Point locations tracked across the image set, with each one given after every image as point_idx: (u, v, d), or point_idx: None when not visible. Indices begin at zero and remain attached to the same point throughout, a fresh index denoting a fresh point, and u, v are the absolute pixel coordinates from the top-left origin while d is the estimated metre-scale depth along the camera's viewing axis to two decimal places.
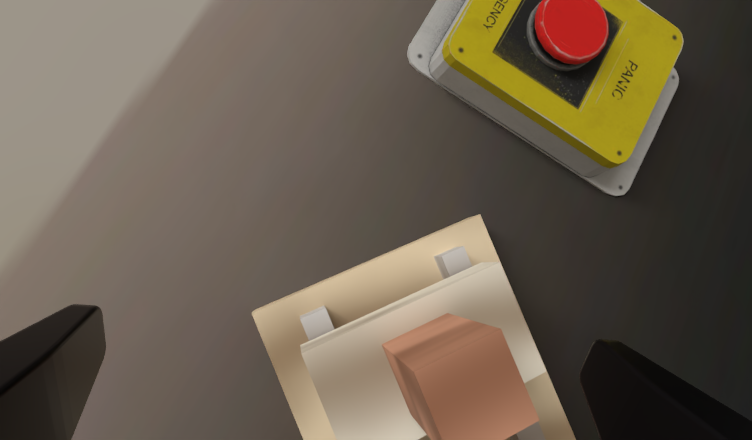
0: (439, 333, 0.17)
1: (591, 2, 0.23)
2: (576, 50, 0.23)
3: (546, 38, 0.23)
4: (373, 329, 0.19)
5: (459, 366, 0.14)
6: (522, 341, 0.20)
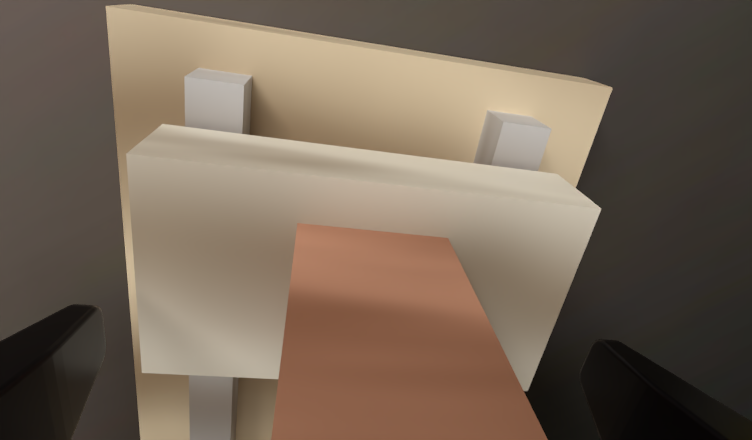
0: (407, 304, 0.07)
1: None
2: None
3: None
4: (296, 190, 0.09)
5: None
6: (529, 339, 0.11)
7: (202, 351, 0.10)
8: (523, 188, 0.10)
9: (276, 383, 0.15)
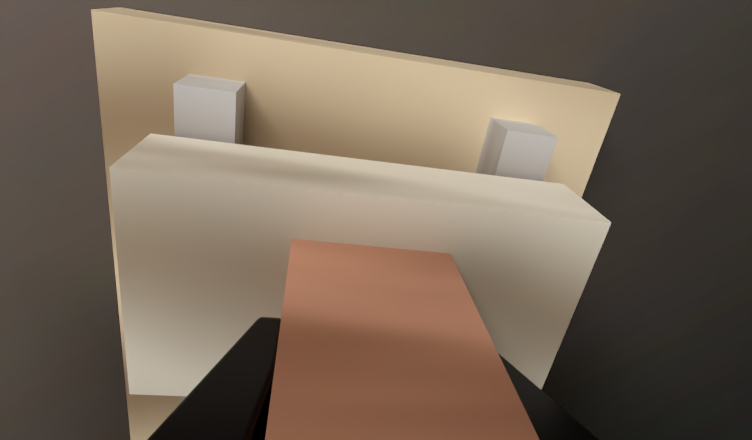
0: (408, 329, 0.07)
1: None
2: None
3: None
4: (290, 205, 0.08)
5: None
6: (534, 357, 0.10)
7: (192, 372, 0.10)
8: (529, 200, 0.09)
9: None
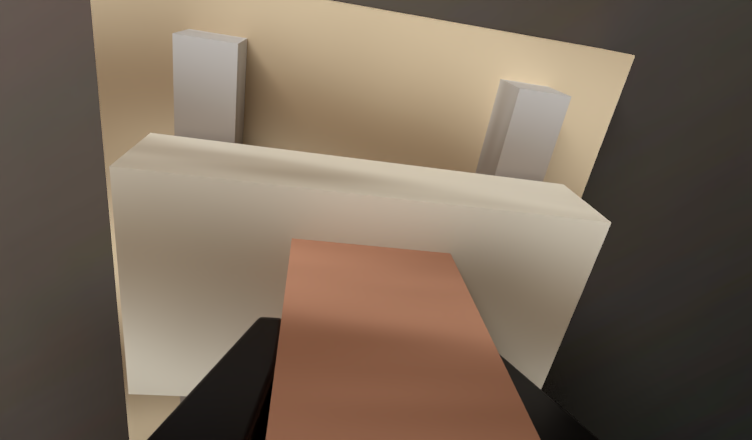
0: (409, 329, 0.07)
1: None
2: None
3: None
4: (291, 204, 0.08)
5: None
6: (534, 357, 0.10)
7: (191, 372, 0.10)
8: (529, 200, 0.09)
9: None
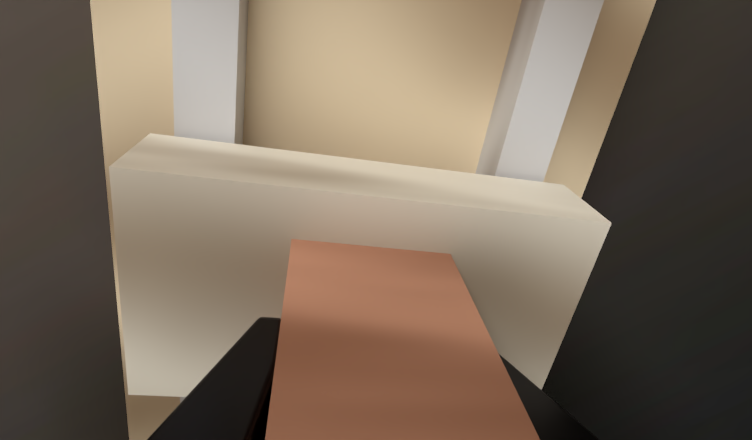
0: (408, 329, 0.07)
1: None
2: None
3: None
4: (290, 204, 0.08)
5: None
6: (534, 358, 0.10)
7: (191, 372, 0.10)
8: (529, 201, 0.09)
9: None
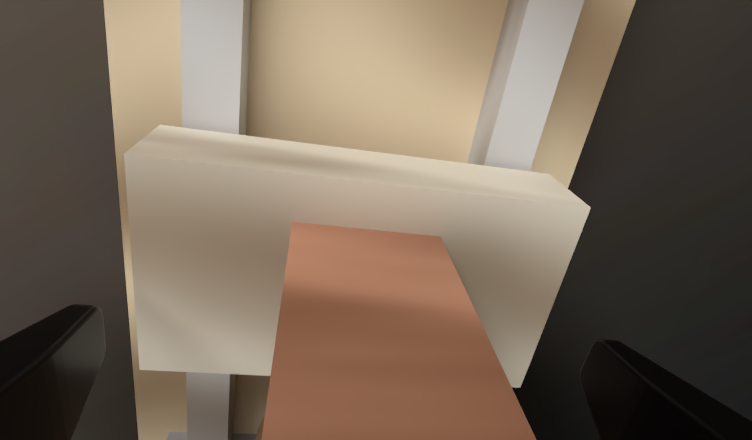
0: (399, 300, 0.07)
1: None
2: None
3: None
4: (291, 189, 0.09)
5: None
6: (521, 337, 0.11)
7: (198, 349, 0.10)
8: (514, 188, 0.10)
9: None
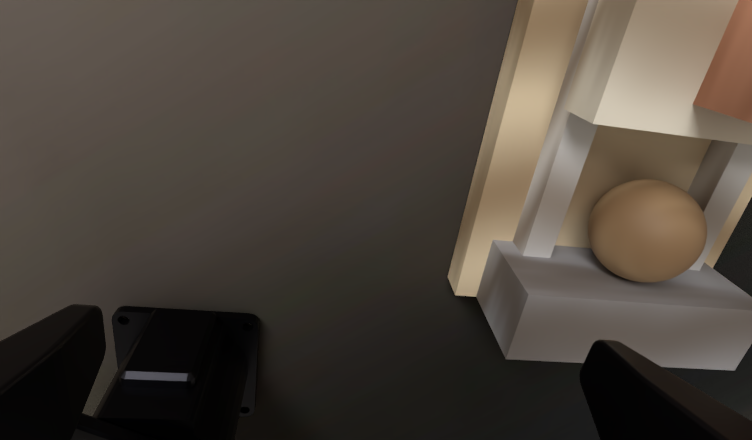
0: None
1: None
2: None
3: None
4: None
5: None
6: None
7: (637, 107, 0.14)
8: None
9: None
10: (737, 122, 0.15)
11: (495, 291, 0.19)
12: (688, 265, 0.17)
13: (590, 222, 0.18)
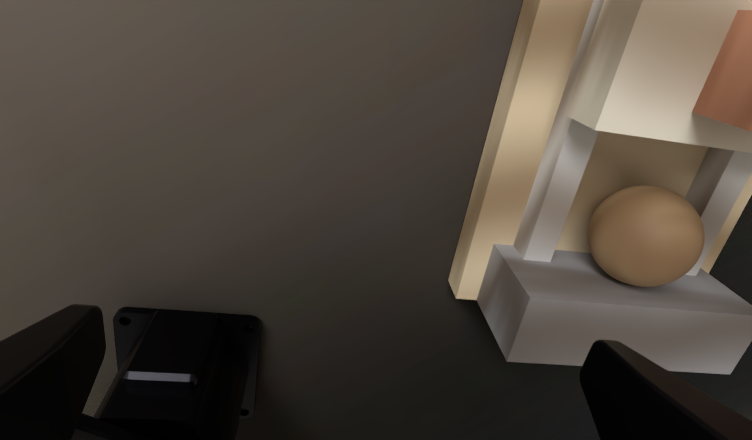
0: None
1: None
2: None
3: None
4: None
5: None
6: None
7: (638, 114, 0.15)
8: None
9: None
10: (734, 130, 0.15)
11: (496, 294, 0.19)
12: (686, 270, 0.17)
13: (590, 227, 0.19)
